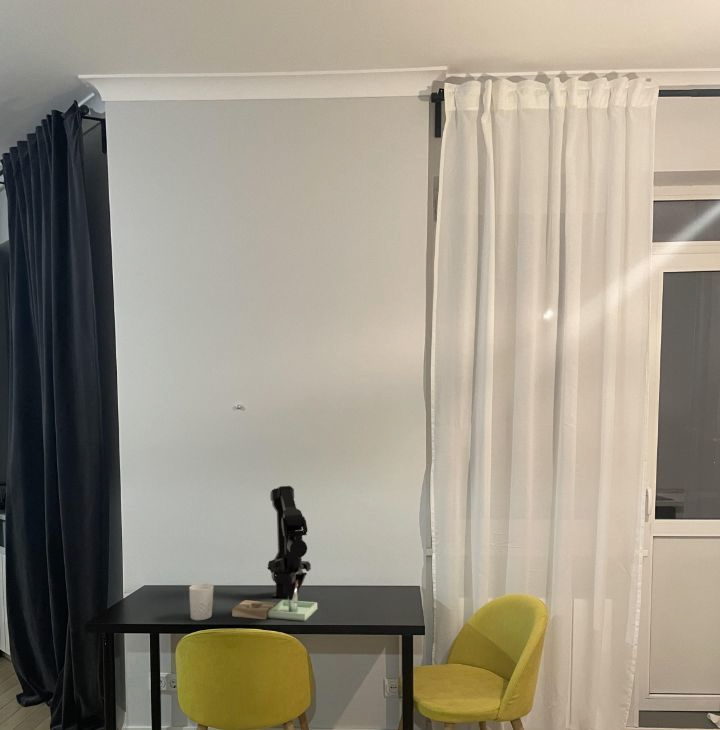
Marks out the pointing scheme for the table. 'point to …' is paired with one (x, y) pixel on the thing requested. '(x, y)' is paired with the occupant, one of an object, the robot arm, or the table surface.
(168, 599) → the table surface
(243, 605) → the block
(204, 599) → the white cup
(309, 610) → the tray
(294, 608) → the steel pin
